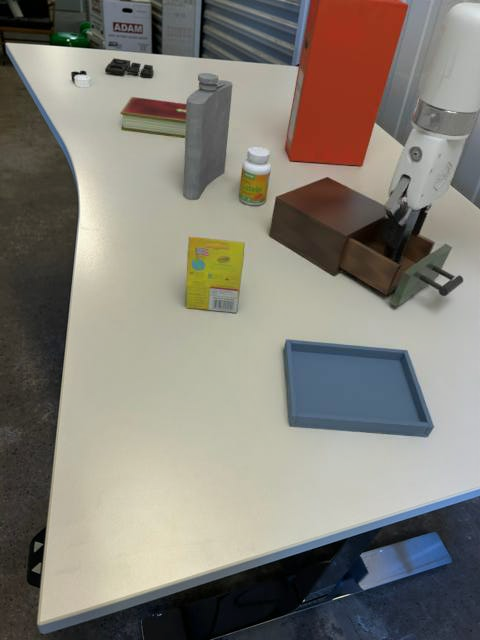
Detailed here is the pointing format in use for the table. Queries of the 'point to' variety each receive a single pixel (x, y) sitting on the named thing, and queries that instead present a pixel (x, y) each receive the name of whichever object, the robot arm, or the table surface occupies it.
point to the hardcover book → (154, 117)
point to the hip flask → (206, 133)
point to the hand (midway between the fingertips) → (399, 236)
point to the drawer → (397, 265)
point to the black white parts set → (113, 71)
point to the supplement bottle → (255, 176)
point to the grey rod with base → (397, 253)
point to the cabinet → (323, 221)
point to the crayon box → (214, 274)
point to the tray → (354, 389)
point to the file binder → (342, 78)
